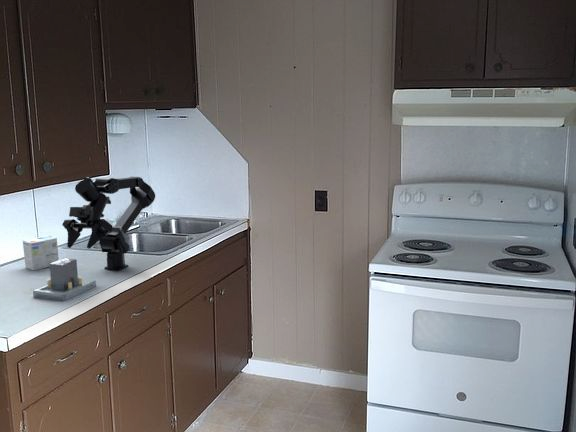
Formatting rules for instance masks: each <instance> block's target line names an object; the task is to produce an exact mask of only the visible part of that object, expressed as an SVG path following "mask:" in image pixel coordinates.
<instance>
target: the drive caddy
mask: <svg viewBox="0 0 576 432" xmlns="http://www.w3.org/2000/svg"><path fill="white" fill-rule="evenodd" d="M77 261H78V260H77V259H74V258H61V259H59V260H58V261H55V262H53V263H50V267H49V276H50V280H51V287H52V290H54V291H62V292H65V291H67V290H68V282H72V288H74V287H76V286H78V278H79V276H78V274H79V273H78V263H77Z"/></svg>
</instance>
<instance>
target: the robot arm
mask: <svg viewBox="0 0 576 432" xmlns="http://www.w3.org/2000/svg"><path fill="white" fill-rule="evenodd" d="M74 189H75V190H74V191H75V193H77V194H78V196H80V197H81V198H82V199H83V200H84V201H85V202H88V203H87V204H83V205H82V206H70V207H69V214H68V217H71V218H67V219H64V221H63V223H62V224H61V226H62V227H63V228H64V229H65V230H66V232H67V244H66V245H67V248H68V249H71V248H72V246H73V245H74V244H75V242H76V241H78V239H79V237H80V236H81V235H82V234H81V232H83V229H91V233H90V235H89V239H88V242H87V244H86V248H87V249H88V250H90V249H91V248H92V247H93V246H94V245H96V244H97V243H99V246H100V249H101V252H102V253H106V266H104V267H103V268H104V270H111V271H120V270H123V269H125V268H127V267H129V264H125V263H126V260H125V254H127V253H128V252H129V250H130V245H129V244H128V243H127V242H126V234H127V232H128V231H129V229H130V228H131V227H132V225H133V223H134V222H135V220H136V219H137V217H138V216H139V215H140V214H141V212H142V211H143V210H144V209H146V208H148V207H150V205H152V204H153V203H154V202H155V199H156V193H155V191H154V190H153V188H152V187H151V185H149V184H148V183H147V182H146V181H144V180H143V178H142V177H141V176H129V177H121V178H116V177H115V178H114V177H102V176H101V177H99V176H98V177H96V178H95V180H94V181H93V180H92V178H91V177H84V178H83V179H82V180H80V181H78V183H77V184H76V185H75V188H74ZM123 189H124V190H125V189H129V193H130V195H131V196H130V198H131V199H130V201H131V203H130V204H129V205H128V207H127V208H126V210H125V211H123V212H124V213H123V214H122V215H121V216H120V217H119V219H118V220H117V222H116V223H115V225H114V226H113V224H111V223H110V222H109V221H107V220H106V219H105V218H104V217H105V213H104V210H105V208H106V206H107V205H111V204H112V201H111V199H110V196H107V195H106V194H108V195H110V194H111V195H113V194H115V193H117V192H118V191H119V190H123ZM72 217H73V218H72ZM75 218H76V219H75Z"/></svg>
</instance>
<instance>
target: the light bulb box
mask: <svg viewBox="0 0 576 432" xmlns="http://www.w3.org/2000/svg"><path fill="white" fill-rule="evenodd" d="M22 247H23V248H22V249H23V257H24V266H25V268H26V269H28V270H31V271H36V270H37V271H38V270H41V269H46V268H50V263H53V262H55V261H58V260H60V257H59V249H58V248H59V247H58V237H56V236H52V235H43V236H38V237H35V238H34V237H33V238H30V239H24V240H22Z"/></svg>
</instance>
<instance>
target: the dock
mask: <svg viewBox="0 0 576 432" xmlns="http://www.w3.org/2000/svg"><path fill="white" fill-rule="evenodd" d="M46 283H47V284H46V285H44V286H41V287H39V288H37V289H33V290H32V294H33V295H32V296H33V298H39V299H45V300H54V301H60V302H61V301H63V302H65V301H68V300H69V299H71V298H73V297H76V296H78V295H80V294H81V293H84V292H85V291H88V290H90V289H93V288H94V287H96V285H97V284H96V283H97V281H96V280H95V279H91V280H90V281H86V280H83V277H78V286H76V287H74V288H72V282H68V290H67V291H65V292H62V291H54V290H52V287H51V279H47V280H46Z"/></svg>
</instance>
